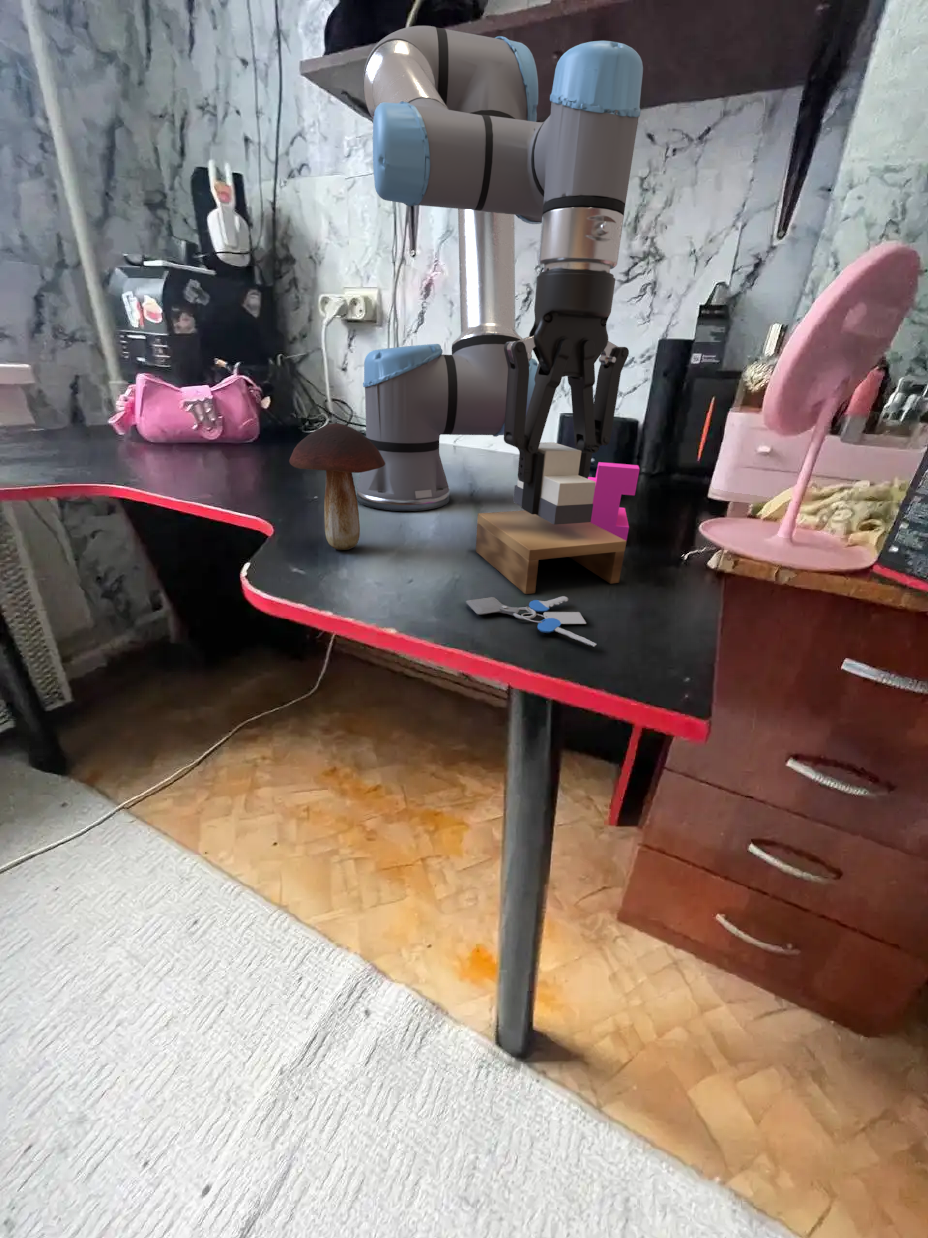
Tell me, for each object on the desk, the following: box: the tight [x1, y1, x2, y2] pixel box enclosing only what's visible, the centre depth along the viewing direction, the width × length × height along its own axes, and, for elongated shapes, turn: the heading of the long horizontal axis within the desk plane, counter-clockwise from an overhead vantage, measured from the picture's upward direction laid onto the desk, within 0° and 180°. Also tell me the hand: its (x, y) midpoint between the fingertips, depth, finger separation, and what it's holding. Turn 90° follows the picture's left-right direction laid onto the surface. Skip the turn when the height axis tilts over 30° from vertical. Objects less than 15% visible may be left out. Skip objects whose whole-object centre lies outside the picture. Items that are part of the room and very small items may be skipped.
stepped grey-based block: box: [512, 441, 596, 525], centre depth 61 cm, size 10×5×7 cm, turn 21°
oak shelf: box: [475, 509, 627, 595], centre depth 65 cm, size 14×12×5 cm
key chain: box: [465, 595, 597, 648], centre depth 53 cm, size 14×8×1 cm, turn 60°
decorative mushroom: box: [288, 422, 385, 551], centre depth 65 cm, size 11×11×15 cm
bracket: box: [588, 461, 640, 542], centre depth 78 cm, size 12×10×10 cm
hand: (550, 509), depth 63 cm, fingers closed on stepped grey-based block, 5 cm apart
